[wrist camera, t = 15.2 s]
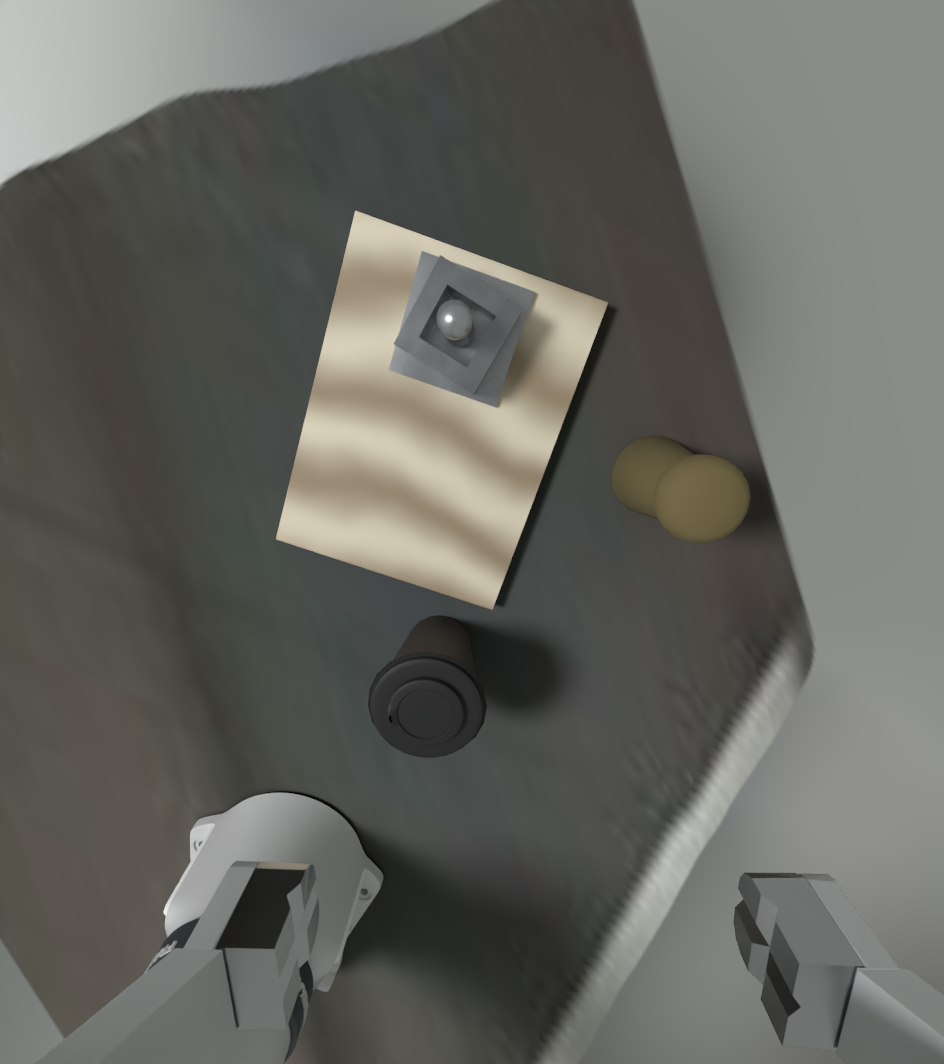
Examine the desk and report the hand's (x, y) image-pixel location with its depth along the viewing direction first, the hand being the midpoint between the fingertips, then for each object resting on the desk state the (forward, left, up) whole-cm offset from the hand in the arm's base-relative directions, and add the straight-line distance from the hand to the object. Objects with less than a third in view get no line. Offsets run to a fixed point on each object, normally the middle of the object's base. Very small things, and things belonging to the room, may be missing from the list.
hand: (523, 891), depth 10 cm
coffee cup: (-12, +1, -31) cm, 34 cm away
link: (+12, +7, -30) cm, 33 cm away
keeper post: (+12, +7, -30) cm, 33 cm away
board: (+5, +7, -31) cm, 32 cm away
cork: (+7, -10, -31) cm, 34 cm away
